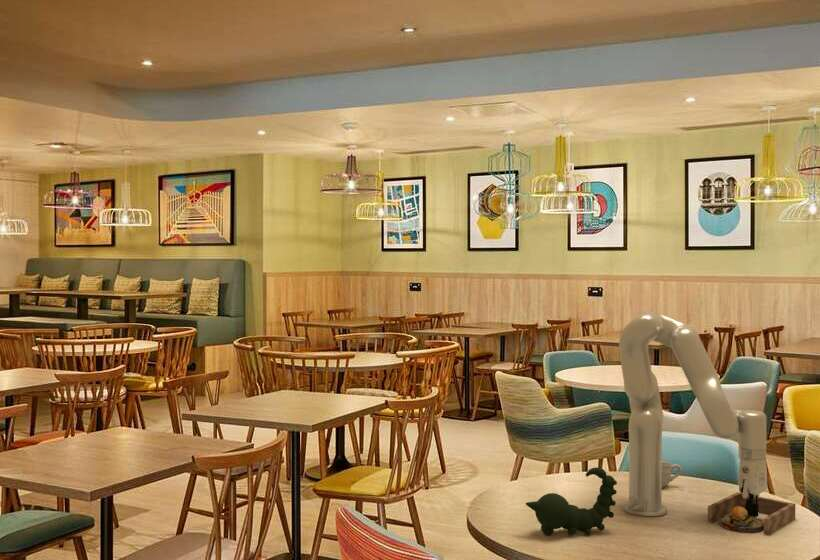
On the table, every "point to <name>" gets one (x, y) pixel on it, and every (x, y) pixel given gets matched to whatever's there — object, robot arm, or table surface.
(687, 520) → the table surface
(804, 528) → the table surface
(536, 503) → the toy figurine
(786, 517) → the wooden u-shaped wall
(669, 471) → the teacup
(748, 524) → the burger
